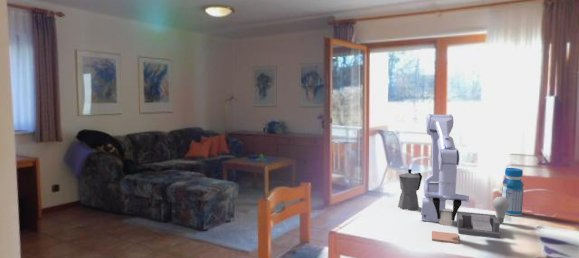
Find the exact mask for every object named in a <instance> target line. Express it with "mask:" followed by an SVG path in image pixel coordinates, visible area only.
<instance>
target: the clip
mask: <svg viewBox="0 0 579 258" xmlns="http://www.w3.org/2000/svg"><path fill="white" fill-rule="evenodd" d="M471 224H472V227H473V230H482V231H491V232H492V226H491V224H490V216H485V215H475V214H471Z"/></svg>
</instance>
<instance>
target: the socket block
mask: <svg viewBox="0 0 579 258" xmlns="http://www.w3.org/2000/svg"><path fill="white" fill-rule="evenodd" d="M471 214H475V215H485V216H490V224H491V226H492V231H484V230H475V229H473V227H472V224H471ZM455 224H456V228H457V234H460V235H469V236H470V235H471V236H479V237H487V238H498V239H500V238H501V234H500V224H501V223H499V221H498V219H497V216H496V214H489V213H479V212H467V211H459V210H458V211H457V213H456V222H455Z"/></svg>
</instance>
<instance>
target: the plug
mask: <svg viewBox="0 0 579 258" xmlns="http://www.w3.org/2000/svg"><path fill="white" fill-rule="evenodd" d="M452 216H453V210H450V209H445V210H440V219H439V222H438V224H439V225H441V226H445V227H446V226H447V227H448V226H453V221H452Z"/></svg>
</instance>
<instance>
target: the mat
mask: <svg viewBox="0 0 579 258" xmlns="http://www.w3.org/2000/svg"><path fill="white" fill-rule="evenodd" d="M458 234H459V233H454V232H453V233H452V232H447V231H446V232H444V231H437V230H431V240H432V241H434V242H441V243H443V242H444V243H451V244H459V245H460V240H459V239H460V238H459V235H458Z"/></svg>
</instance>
